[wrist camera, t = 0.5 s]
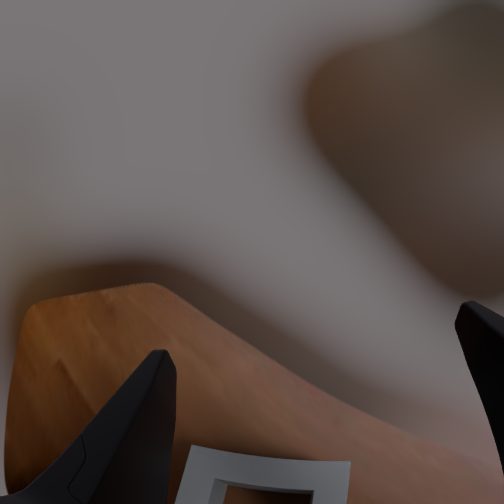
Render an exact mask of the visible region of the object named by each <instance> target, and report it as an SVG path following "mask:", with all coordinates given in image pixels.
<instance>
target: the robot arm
mask: <svg viewBox="0 0 504 504" xmlns="http://www.w3.org/2000/svg"><path fill="white" fill-rule="evenodd" d="M455 330H456V332H457V335H458V338H459V341H460V344H461V347H462V350H463V352H464V356H465V359H466V362H467V365H468V367H469V370H470V373H471V375H472V378H473V380H474V382H475V385H476V387H477V390H478V393H479V395H480V398H481V400H482V403H483V406H484V409H485V412H486V415H487V417H488V421H489V423H490V427H491V430H492V433H493V436H494V439H495V443H496V446H497V450H498V453H499V457H500V461H501V465H502V470H503V474H504V317H502V316H501V315H499V314H497V313H495V312H493V311H492V310H490V309H488V308H486V307H484V306H482V305H481V304H479V303H477V302H475V301H467V302H464V303H462V304H461V306H460V309H459V312H458V315H457V318H456V320H455ZM176 382H177V372H176V367H175V365H174V363H173V361H172V359H171V357H170V355H169V353H168V351H167V350H165V349H161V350H153V351H151V352H150V354H149V355H148V356H147V357H146V358H145V359H144V360H143V362H142V363H141V364H140V365H139V366H138V367H137V368H136V370H135V371H134V372H133V373H132V374H131V375H130V376H129V378H128V379H127V380H126V381H125V382H124V383H123V384H122V386H121V387H120V388H119V389H118V390H117V391H116V393H115V394H114V395H113V396H112V397H111V398H110V399H109V401H108V402H107V403H106V404H105V405H104V406H103V408H102V409H101V410H100V411H99V412H98V413H97V414H96V416H95V417H94V418H93V419H92V420H91V421H90V423H89V424H88V425H87V426H86V427H85V428H84V430H83V431H82V434H79V435H78V436H77V438H76V439H75V440H74V441H73V442H72V443H71V444H70V446H69V447H68V448H67V449H66V450H65V451H64V452H63V453H62V454H61V455H60V456H59V457H58V458H57V459H56V460H55V461H54V462H53V463H52V464H51V465H50V466H49V467H48V468H47V469H46V470H45V471H44V472H43V473H42V474H40V475H39V476H38V477H37V478H36V479H35V480H34V481H33V482H32V483H31V484H30V485H29V486H27V487H26V488H25V489H23V490H21V491H19V492H17V493H15V494H11V495H6V496H0V504H167V493H168V483H169V473H170V464H171V455H172V446H173V438H174V430H175V421H176Z"/></svg>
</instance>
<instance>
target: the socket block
mask: <svg viewBox="0 0 504 504" xmlns="http://www.w3.org/2000/svg"><path fill="white" fill-rule="evenodd" d="M350 465H351V461H309V460H292V459H279V458H269V457H260V456H252V455H245V454H238V453H232V452H226V451H221V450H215V449H210V448H205V447H200V446H196V445H191V449H190V452H189V456H188V459H187V463H186V466H185V470H184V473H183V477H182V480H181V484H180V487H179V490H178V494H177V497H176V501H175V504H223V502H224V498H225V494H226V490H227V486H228V485H229V486H235V487H241V488H247V489H254V490H262V491H270V492H280V493H292V494H310V495H311V499H310V504H347V496H348V487H349V477H350Z"/></svg>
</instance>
